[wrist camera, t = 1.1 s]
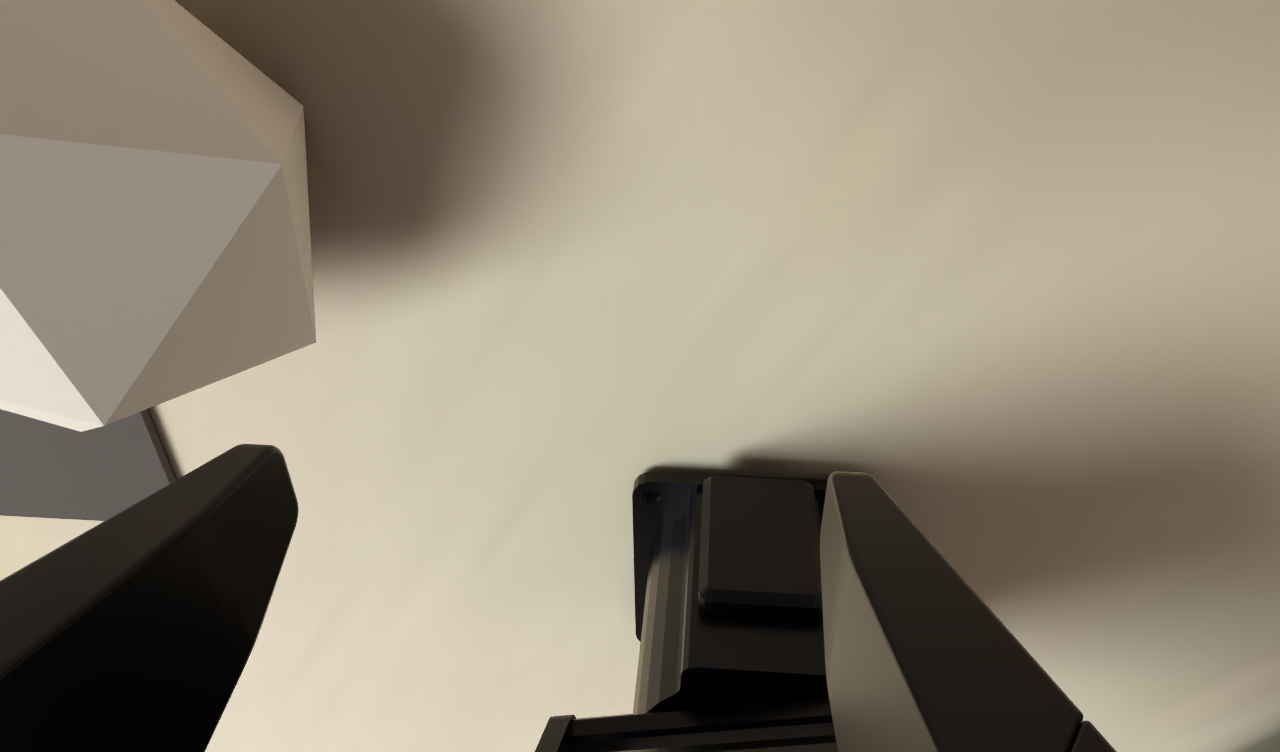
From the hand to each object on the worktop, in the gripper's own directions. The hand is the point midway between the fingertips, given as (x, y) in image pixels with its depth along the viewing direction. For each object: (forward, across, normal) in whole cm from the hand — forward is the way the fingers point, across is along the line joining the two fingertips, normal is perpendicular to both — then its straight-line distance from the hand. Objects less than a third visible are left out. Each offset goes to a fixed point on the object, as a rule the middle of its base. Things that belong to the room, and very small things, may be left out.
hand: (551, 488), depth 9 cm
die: (+11, +10, 0) cm, 15 cm away
